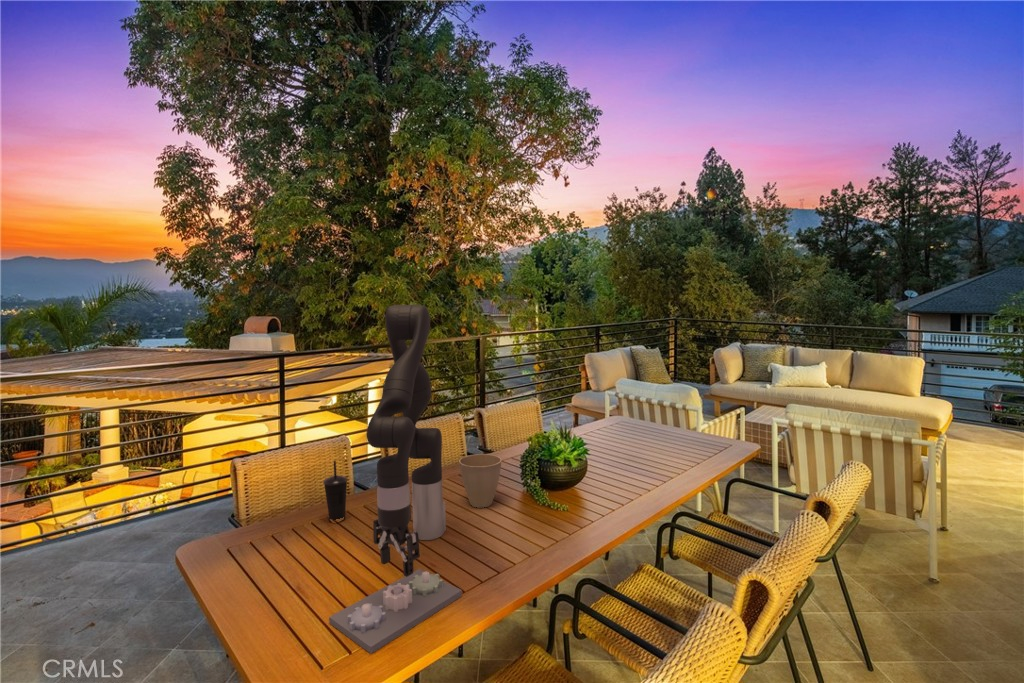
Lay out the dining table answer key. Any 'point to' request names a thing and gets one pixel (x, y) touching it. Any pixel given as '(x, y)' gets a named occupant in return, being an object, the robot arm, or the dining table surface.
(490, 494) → the plant pot
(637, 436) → the dining table surface
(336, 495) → the drinking cup
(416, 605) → the gear board
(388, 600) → the gear
